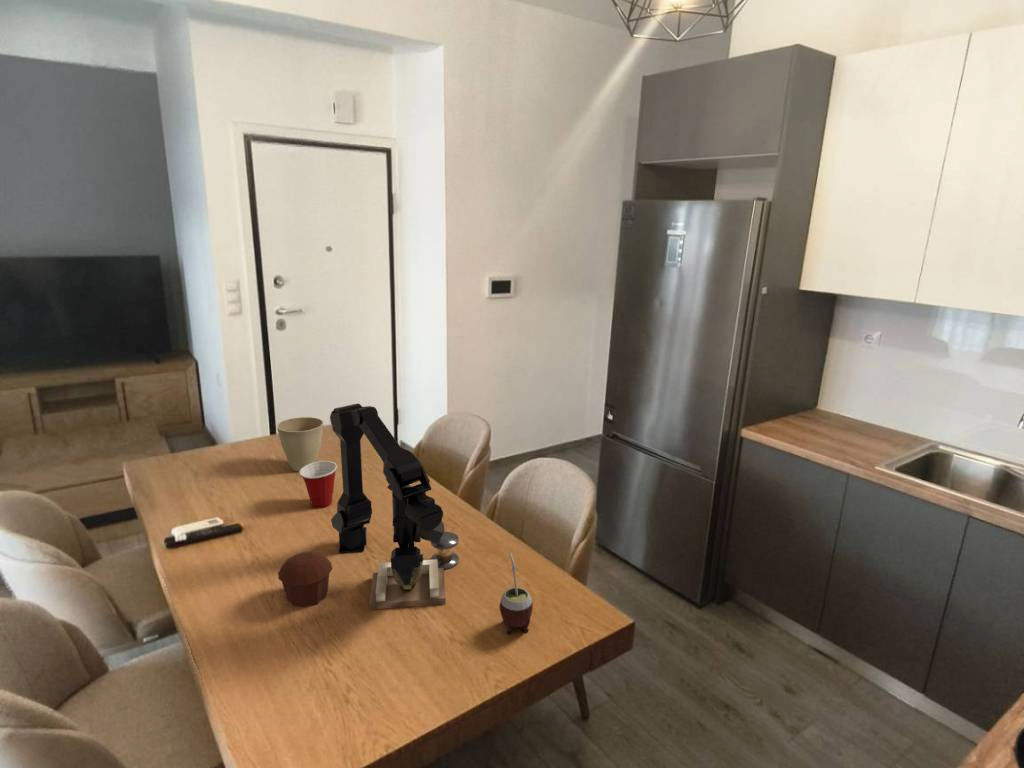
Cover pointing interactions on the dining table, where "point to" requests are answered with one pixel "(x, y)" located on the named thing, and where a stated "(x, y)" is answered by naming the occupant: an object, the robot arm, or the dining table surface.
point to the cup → (414, 578)
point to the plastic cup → (319, 482)
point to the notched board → (393, 596)
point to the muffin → (305, 578)
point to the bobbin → (446, 551)
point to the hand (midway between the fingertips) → (407, 572)
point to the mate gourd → (516, 606)
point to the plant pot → (301, 440)
